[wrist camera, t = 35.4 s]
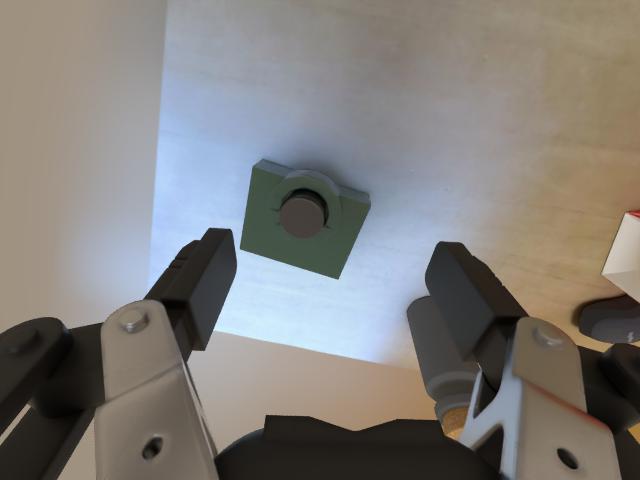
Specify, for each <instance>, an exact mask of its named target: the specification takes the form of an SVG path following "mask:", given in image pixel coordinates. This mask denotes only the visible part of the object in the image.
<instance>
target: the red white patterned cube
mask: <svg viewBox="0 0 640 480" xmlns="http://www.w3.org/2000/svg"><path fill="white" fill-rule="evenodd" d="M601 275H602V276H603V277H605V278H606V279H608V280H609V281H610V282H612V283H613V284H614V285H616V286H617V287H618V288H620V289H621V290H623V291H624V292H625V293H627V294H628V295H629V296H631V297H632V298H633V299H635V300H636V301H638V302H639V303H640V211H633V212H626V213H625V215H624V218H623V220H622V223H621V225H620V228H619V231H618V233H617V236H616V238H615V241H614V243H613V246H612V248H611V251H610V253H609V256H608V258H607V261H606V264H605V266H604V269H603V271H602V274H601Z"/></svg>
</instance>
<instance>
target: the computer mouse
mask: <svg viewBox="0 0 640 480" xmlns="http://www.w3.org/2000/svg"><path fill="white" fill-rule="evenodd" d="M579 332H580V333H582V334H583V335H585V336H588V337H590V338H592V339H595V340H598V341H601V342H606V343H611V344H616V343H634V342H637V341H640V303H639V302H638V301H636V300H635V299H633V298H632V297H631V296H629V295H627V296H623V297H619V298H616V299H610V300H604V301H599V302H596V303H593V304H591V305H589V306H587V307H585V308H584V309H583V311H582V314H581V316H580V321H579Z"/></svg>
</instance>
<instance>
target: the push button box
mask: <svg viewBox="0 0 640 480" xmlns="http://www.w3.org/2000/svg"><path fill="white" fill-rule="evenodd" d="M297 191H310V192H313V193H315V194H316V195H318V196H319V197H320V198H321V199H322V201H323V202H324V204H325V208H326V215H325V220H324V224H323V227H322V229H321V231H320V232H319V233H318V234H317V235H315V236H314V237H312V238H308V239H299V238H295V237H293V236H291V235H289V234H288V233H287V232H286V231H285V230H284V229H283V227H282V226H281V223H280V219H279V214H280V210H281V208H282V206H283V205H284V203H285V201H286V200H287V198H288V197H289V196H290V195H291V194H293V193H294V192H297ZM370 207H371V201H370V195H369V194H366V193H363V192H360V191H357V190H354V189H351V188H348V187H345V186H342V185H339V184H336V183H333V182H332V181H331V179H330V178H329V177H328V176H327V175H325V174H322V173H319V172H316V171H313V170H310V169H304V170H299V171H297V170H294V169H291V168H288V167H285V166H282V165H279V164H276V163H273V162H270V161H267V160H264V159H262V160H260V161H259V162H258V163H256V164H255V165H254V166H253V169H252V175H251V181H250V188H249V194H248V200H247V206H246V212H245V219H244V225H243V231H242V237H241V244H240V249H241V250H244V251H247V252H250V253H254V254H257V255H260V256H263V257H267V258H270V259H273V260H276V261H279V262H283V263H286V264H289V265H292V266H296V267H299V268H302V269H305V270H309V271H312V272H315V273H318V274H321V275H325V276H328V277H331V278H334V279H339V277H340V274H341V272H342V270H343V268H344V265H345V263H346V261H347V259H348V256H349V254H350V252H351V250H352V247H353V245H354V243H355V241H356V238H357V236H358V234H359V232H360V229H361V227H362V225H363V223H364V220H365V218H366V216H367V214H368V211H369V209H370Z"/></svg>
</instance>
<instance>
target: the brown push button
mask: <svg viewBox="0 0 640 480" xmlns="http://www.w3.org/2000/svg"><path fill="white" fill-rule="evenodd" d="M325 215H326V208H325V204H324V202H323V201H322V199H321V198H320V197H319V196H318V195H316V194H315V193H313V192H310V191H297V192H294V193H293V194H291V195H290V196H289V197H288V198H287V200H286V201H285V203H284V205H283V206H282V208H281V210H280V214H279V219H280V223H281V226H282V227H283V229H284V230H285V231H286V232H287V233H288V234H289V235H291V236H293V237H295V238H299V239H308V238H312V237H314V236H315V235H317V234H318V233H319V232H320V231H321V229H322V227H323V224H324V220H325Z"/></svg>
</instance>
